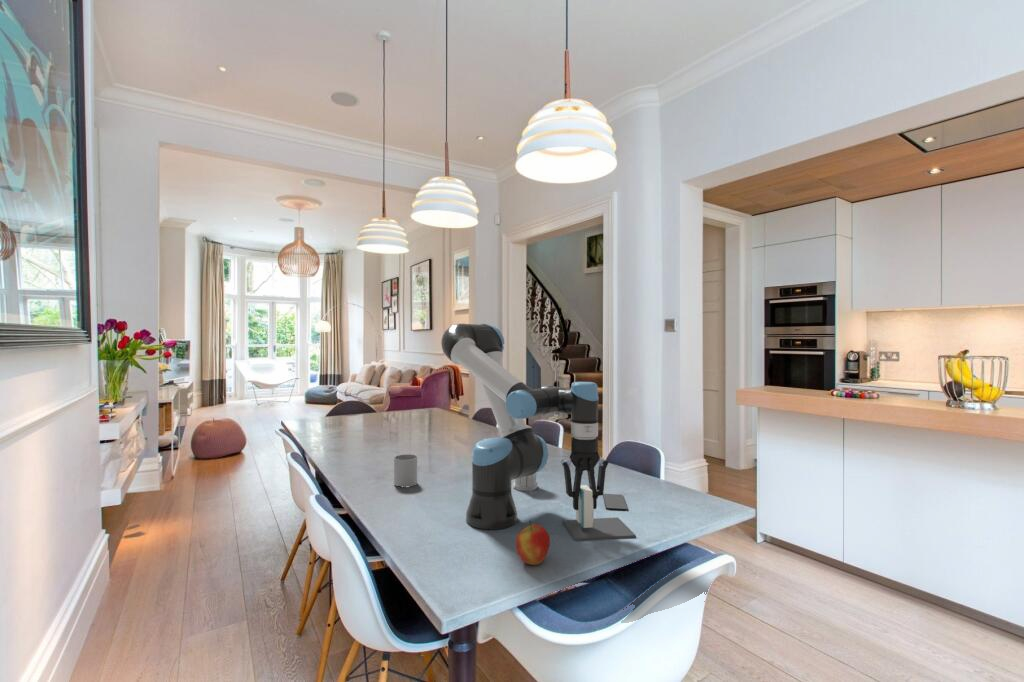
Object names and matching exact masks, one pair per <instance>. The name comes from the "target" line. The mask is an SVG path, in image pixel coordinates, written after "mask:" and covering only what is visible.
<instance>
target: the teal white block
mask: <svg viewBox="0 0 1024 682" xmlns="http://www.w3.org/2000/svg"><path fill="white" fill-rule="evenodd" d="M579 497H580V498H581V499H582V523H580V525H581V526H582V527H583V528H590V527H593V519H594V509H593V498H592V490H591V489H590V487H589V485H587V484H581V485H580V493H579Z"/></svg>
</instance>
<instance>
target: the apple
mask: <svg viewBox="0 0 1024 682" xmlns="http://www.w3.org/2000/svg"><path fill="white" fill-rule="evenodd" d="M528 522H529V525H528V526H527V527H524V528H523V529H521V530H520V531H519V532H518V534H517V535H516V540H515V545H516V546H515V547H516V551H517V554H518V556H519V557H520V559H521V560H522V561H523V562H524V563H525V564H527V565H530V566H536V565H539V564H541V563H542V562H543V561H544V560H545V559H546V557H547V555H548V553H549V550H550V544H551V538H550V535H549V533H548V531H547V530H546V529H545V528H544V527H543V526H542V525H540V524H536V523H535V524H532V523H531V519H530V520H528Z"/></svg>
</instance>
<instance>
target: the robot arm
mask: <svg viewBox="0 0 1024 682" xmlns="http://www.w3.org/2000/svg"><path fill="white" fill-rule="evenodd" d="M440 343H441V349H442V351H443V354H444V355H445V356H446V358H447V359H449V360H450V361H451V362H452V363H453V364H455V365H456V366H457V365H458V366H462V367H463V368H464V369H465V370H466V371H467V372H469V373H470V374H471V375H472V376H474V377H475V378H477V379H478V380H479V381H480V382H481V383H482V386H483V388H484V391H485V394H486V397H487V399H488V402H489V404H490V408H491V411H492V413H493V416H494V418H495V421H496V424H497V426H498V430H499V433H500V436H499V437H498V436H496V437H489V438H484V439H481V440H479V441H478V442H476V443H475V444H474V446H473V448H472V456H471V462H472V463H471V464H472V467H471V468H472V471H471V474H472V475H471V476H472V479H471V480H472V484H471V486H472V487H471V488H472V492H471V497H470V501H469V504H468V506H467V509H466V512H465V513H466V514H465V518H466V519H465V521H466V523H467V524H468V525H469V526H471V527H473V528H475V529H476V528H477V529H480V530H481V529H482V530H500V529H505V528H510V527H511V526H514V525H515V524H516V523H517V522H518V511H517V507H516V504H515V500H514V498H513V494H512V481H513V480H515V479H517V478H520V477H524V476H527V475H533V474H535V473H536V474H537V473H539V472H541V471H543V469H544V468H545V467H546V465H547V461H548V459H549V448H548V444H547V443H546V441H545V440H544V438H542V437H541V436H539V435H536V434H535V432H534V429H533V427H532V426H530V425H527V424H526V422H525V419H529V418H534V417H538V416H545V415H552V414H566V415H571V416H570V418H571V421H570V422H571V425H570V428H571V429H570V433H571V434H570V435H571V436H572V437H571V440H570V444H571V446H570V447H571V448H570V451H571V452H570V454H569V458H567V459H562V460H561V462H560V463H561V465H562V467H563V472H564V484H565V493H566V494H567V496H568V497H569V498H572V509H573V510H574V511H575V520H577V521H578V522H579V523H582V499H581V498H580V497H579V493H580V485H582V477H583V474H584V472H585V471H586V472H587V478H588V487H589V488H590V489H591V490H592V498H593V510H596V509H597V500H598V498H599V497H601V496H603V494H604V492H605V491H604V490H605V480H606V479H605V478H606V472H607V471H606V470H607V467H608V466H609V465H608V464H609V461H608V460H607V459H605V458H602V457H601V456H600V454H599V438H598V436H599V401H600V399H599V398H600V397H599V389H598V388H599V387H598V384H597V383H596V382H594V381H593V382H592V381H573V382H572V383H571V386H570V387H569V388H568V387H561V386H560V387H559V386H553V385H548V386H542V387H541V388H535V389H534V388H531V387H530V386H528V385H527V384H526V383H524V382H522V381H521V380H520V379H519V378H517V377H516V375H513V374H512V373H511V372H510V371H508V370H507V369H506V368H505V367H504V366H503V363H502V358H503V356H504V353H503V352H504V349H505V338H504V336H503V333H502V332H501V329H499V328H498V327H496V326H494V325H491V324H486V323H481V324H475V323H473V324H472V323H455V324H453V325H451V326H449V327H447V329H446V330H445V331H444V332H443V334H442V337H441V341H440ZM571 463H572V465H573V466H574V479H573V480H574V481H573V483H572V475H571V466H572V465H571ZM596 465H598V471H597V482H596V478H595V477H596V476H595V473H596V472H595V467H596ZM572 484H573V485H572Z"/></svg>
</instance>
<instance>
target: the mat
mask: <svg viewBox="0 0 1024 682" xmlns="http://www.w3.org/2000/svg"><path fill="white" fill-rule="evenodd" d="M562 523H563V525H564V527H565V528H566V529H567V531H568V533H569V534H570V536H571V537H572V539H573V540H574V541H575V542H577V541H579V542H580V541H595V540H596V541H597V540H610V539H611V540H612V539H630V538H631V539H632V538H633V539H634V538H637V537H636V536H637V535H636V533H634V532H633V531H632V530H631V529H630V528H629V527H628V526H627V525H626V524H625V523H624V522H623V520H621V519H620V518H619V516H618V517H602V518H601V517H600V518H593V527H590V528H583V527H582V526H581V525H580V523H579V522H578V521H577V520H576V519H563V520H562Z"/></svg>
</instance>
